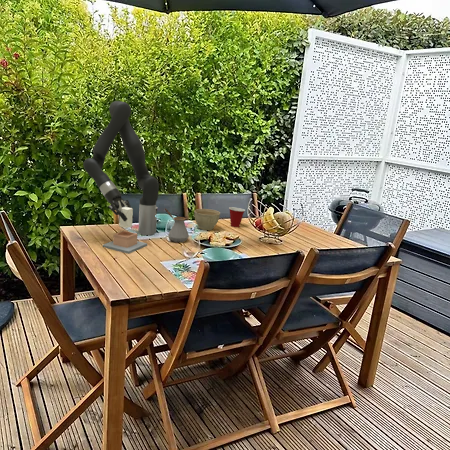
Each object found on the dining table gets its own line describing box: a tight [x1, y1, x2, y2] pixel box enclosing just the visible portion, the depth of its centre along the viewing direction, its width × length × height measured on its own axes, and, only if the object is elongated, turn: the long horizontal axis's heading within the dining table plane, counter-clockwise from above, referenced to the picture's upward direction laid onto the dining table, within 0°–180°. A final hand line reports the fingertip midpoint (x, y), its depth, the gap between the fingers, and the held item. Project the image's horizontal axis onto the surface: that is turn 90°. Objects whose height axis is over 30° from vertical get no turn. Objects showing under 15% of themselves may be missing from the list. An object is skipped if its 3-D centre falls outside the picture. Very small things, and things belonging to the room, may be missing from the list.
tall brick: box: [118, 207, 134, 229], centre depth 206 cm, size 4×4×10 cm
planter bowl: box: [193, 208, 221, 231], centre depth 255 cm, size 16×16×11 cm
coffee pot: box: [162, 207, 190, 243], centre depth 229 cm, size 21×12×15 cm, turn 41°
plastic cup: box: [228, 206, 246, 228], centre depth 267 cm, size 11×11×12 cm
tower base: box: [102, 230, 148, 255], centre depth 209 cm, size 16×16×7 cm
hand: (129, 219), depth 205 cm, fingers closed on tall brick, 4 cm apart
